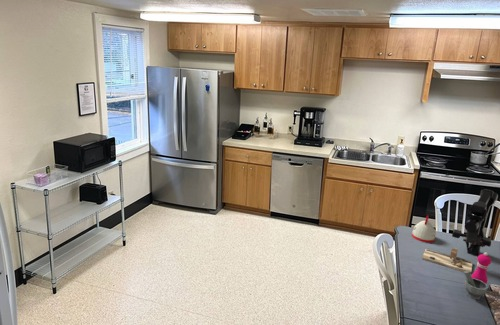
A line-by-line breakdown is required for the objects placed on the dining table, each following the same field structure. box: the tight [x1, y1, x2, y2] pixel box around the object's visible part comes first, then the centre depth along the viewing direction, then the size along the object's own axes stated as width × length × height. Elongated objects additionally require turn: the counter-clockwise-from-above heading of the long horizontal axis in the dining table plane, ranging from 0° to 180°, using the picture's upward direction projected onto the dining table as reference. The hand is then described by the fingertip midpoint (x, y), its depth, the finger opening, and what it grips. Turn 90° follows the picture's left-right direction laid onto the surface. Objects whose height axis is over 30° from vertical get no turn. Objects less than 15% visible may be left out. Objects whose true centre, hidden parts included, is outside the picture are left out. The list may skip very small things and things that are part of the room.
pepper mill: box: [471, 251, 492, 284], centre depth 187 cm, size 7×7×20 cm
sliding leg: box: [449, 247, 459, 263], centre depth 210 cm, size 11×3×5 cm, turn 147°
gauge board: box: [421, 247, 473, 275], centre depth 212 cm, size 13×25×2 cm, turn 57°
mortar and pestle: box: [463, 271, 489, 300], centre depth 181 cm, size 11×9×12 cm
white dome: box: [411, 215, 437, 243], centre depth 238 cm, size 14×14×15 cm
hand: (468, 251), depth 207 cm, fingers closed
